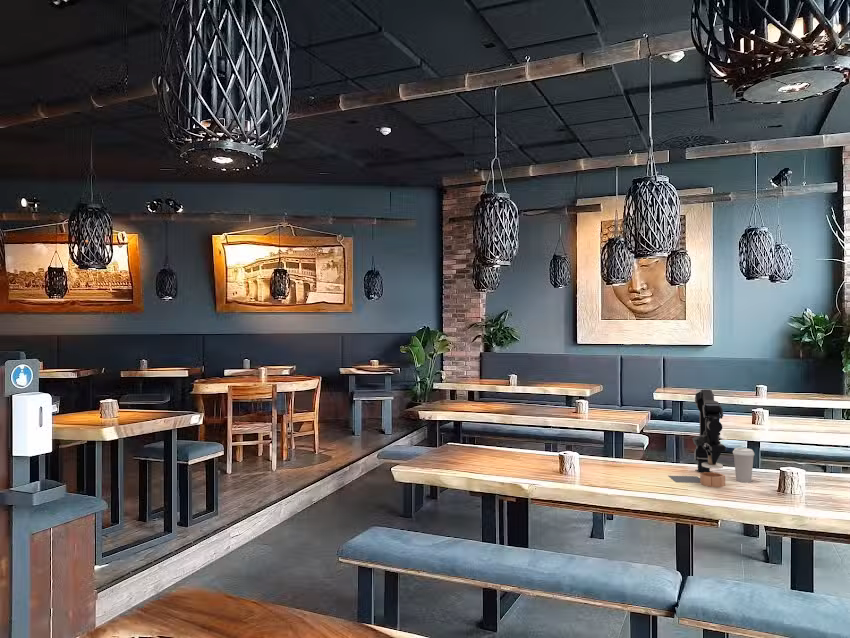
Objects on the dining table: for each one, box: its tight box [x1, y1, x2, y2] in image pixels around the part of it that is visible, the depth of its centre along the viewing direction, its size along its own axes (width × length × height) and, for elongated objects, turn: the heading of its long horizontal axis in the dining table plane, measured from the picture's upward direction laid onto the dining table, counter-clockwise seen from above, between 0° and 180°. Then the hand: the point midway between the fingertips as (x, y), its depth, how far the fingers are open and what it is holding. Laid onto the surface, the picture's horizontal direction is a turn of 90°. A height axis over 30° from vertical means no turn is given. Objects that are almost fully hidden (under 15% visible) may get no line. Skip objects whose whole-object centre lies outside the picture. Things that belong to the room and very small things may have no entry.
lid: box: [702, 455, 724, 469], centre depth 300 cm, size 9×9×5 cm
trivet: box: [667, 475, 701, 484], centre depth 310 cm, size 14×14×1 cm
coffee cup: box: [732, 447, 755, 483], centre depth 309 cm, size 10×10×15 cm
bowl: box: [699, 471, 726, 488], centre depth 300 cm, size 10×10×5 cm
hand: (712, 463), depth 300 cm, fingers closed on lid, 4 cm apart
